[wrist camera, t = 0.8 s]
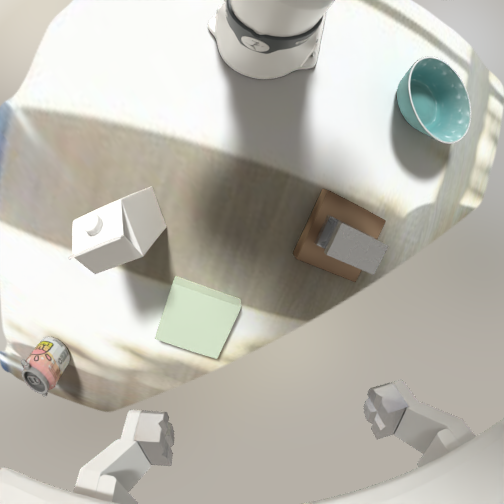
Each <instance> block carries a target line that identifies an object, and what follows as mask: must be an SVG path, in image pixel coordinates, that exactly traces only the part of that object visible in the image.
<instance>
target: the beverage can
mask: <svg viewBox="0 0 504 504" xmlns="http://www.w3.org/2000/svg"><path fill="white" fill-rule="evenodd" d="M69 361H70V355H69V352H68V349H67V348H66V346H65V345H64V344H63V343H62V342H61V341H60V340H58V339H56V338H54V337H45V338H43V339H42V340H41V342H40V343H39V344H38V345H37V347H36V348H35V349H34V350H33V352H32V353H31V354H30V356H29V357H28V358H27V359H26V361H25V360H24V359H22V360H21V364H22V366H23V368H24V369H23V371H22V377H23V379H24V381H25V383H26V384H27V385H28V386H29V387H30V388H31V389H32V390H34V391H35V392H37V393H40V394H42V395H43V396H44V397H45V396H47V392H48V390H50V389H52V388H54V387H55V385H56V384H57V382H58V380H59V378H60V377H61V375H62V373H63V372H64V370H65V369H66V367H67V365H68V364H69Z"/></svg>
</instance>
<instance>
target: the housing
mask: <svg viewBox="0 0 504 504" xmlns="http://www.w3.org/2000/svg"><path fill="white" fill-rule="evenodd" d="M314 243H315V244H316V245H318V246H320V247H322V248H324V249H325V251H324V253H325V254H326V255H328V256H330V257H333V258H335V259H338V260H340V261H342V262H345V263H347V264H349V265H352V266H354V267H356V268H359V269H361V270H363V271H366V272H368V273H370V274H373V275H374V274H375V272H376V270H377V268H378V266H379V264H380V262H381V260H382V258H383V256H384V254H385V252H386V250H387V248H388V246H387V245H386V244H384V243H382V242H380V241H378V240H377V239H375V238H374V237H372V236H370V235H368V234H366V233H365V232H363V231H361V230H358V229H356V228H354V227H352V226H350V225H348V224H346V223H344V222H342V221H340V220H338V219H336V218H334V217H332V216H330V215H327V217H326V219H325V221H324V223H323V225H322V228H321V230H320V232H319V234H318V236H317V238H316V240H315V242H314Z"/></svg>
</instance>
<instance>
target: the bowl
mask: <svg viewBox="0 0 504 504" xmlns="http://www.w3.org/2000/svg"><path fill="white" fill-rule="evenodd" d="M397 101H398V105H399V108H400V111H401V113H402V115H403V117H404V118H405V120H406V121H407V122H408V123H409V124H410V125H411V126H412V127H413V128H415V129H416V130H418V131H420V132H422V133H424V134H426V135H428V136H429V137H431V138H433V139H435V140H437V141H439V142H442V143H446V144H453V143H457V142H459V141H460V140H461V139H462V138H463V137H464V136H465V135H466V133H467V131H468V129H469V126H470V121H471V105H470V100H469V96H468V93H467V90H466V88H465V86H464V84H463V82H462V80H461V78H460V77H459V75H458V74H457V73H456V71H455V70H454V69H453V68H452V67H451V66H450V65H448V64H447V63H446V62H444V61H443V60H441V59H439V58H436V57H423V58H420V59H419V60H417V61H416V62H415V63H414V64H413V65H412V67H411V68H410V69H409V70H408V72H407V73H406V74H405V76H404V77H403V79H402V80H401V81H400V83H399V86H398V89H397Z"/></svg>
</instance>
